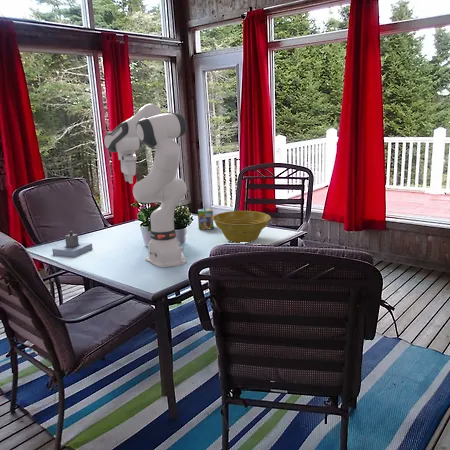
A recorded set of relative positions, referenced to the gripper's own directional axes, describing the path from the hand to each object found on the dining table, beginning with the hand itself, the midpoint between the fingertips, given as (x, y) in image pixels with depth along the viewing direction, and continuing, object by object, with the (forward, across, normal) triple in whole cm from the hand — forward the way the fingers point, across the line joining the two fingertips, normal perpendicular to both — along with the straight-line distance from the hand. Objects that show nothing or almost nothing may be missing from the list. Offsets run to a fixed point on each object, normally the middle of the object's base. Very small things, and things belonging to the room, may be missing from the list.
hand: (128, 182), depth 222 cm
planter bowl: (+34, +24, +55) cm, 69 cm away
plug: (+34, -1, -32) cm, 47 cm away
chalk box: (+34, -12, +48) cm, 60 cm away
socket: (+34, -1, -32) cm, 47 cm away
